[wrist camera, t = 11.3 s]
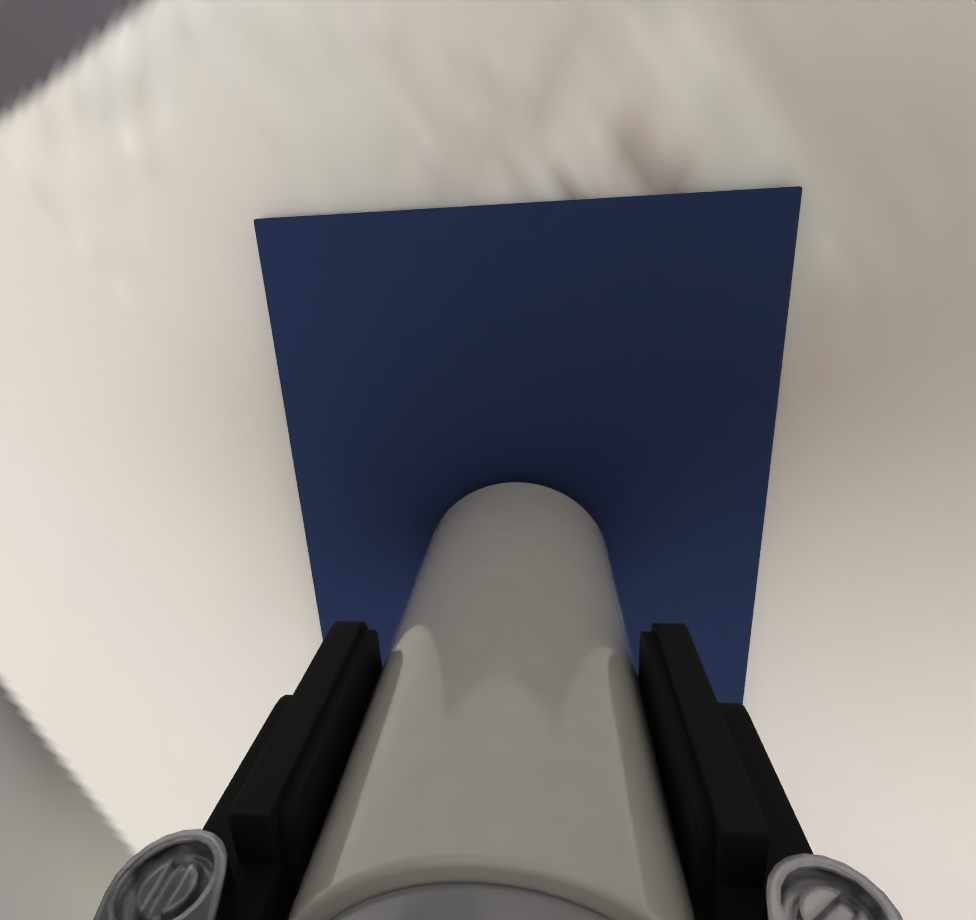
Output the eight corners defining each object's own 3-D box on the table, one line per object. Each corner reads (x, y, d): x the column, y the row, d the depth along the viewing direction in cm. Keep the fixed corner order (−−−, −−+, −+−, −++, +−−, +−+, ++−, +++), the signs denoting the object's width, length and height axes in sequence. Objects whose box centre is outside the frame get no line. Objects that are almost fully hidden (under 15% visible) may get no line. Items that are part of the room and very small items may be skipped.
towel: (260, 220, 14) (252, 218, 13) (795, 187, 12) (803, 185, 12) (350, 776, 19) (346, 787, 19) (727, 790, 18) (731, 801, 18)
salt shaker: (478, 449, 14) (345, 880, 4) (643, 534, 14) (865, 1108, 5) (400, 592, 15) (169, 1155, 6) (551, 667, 16) (575, 1311, 6)
